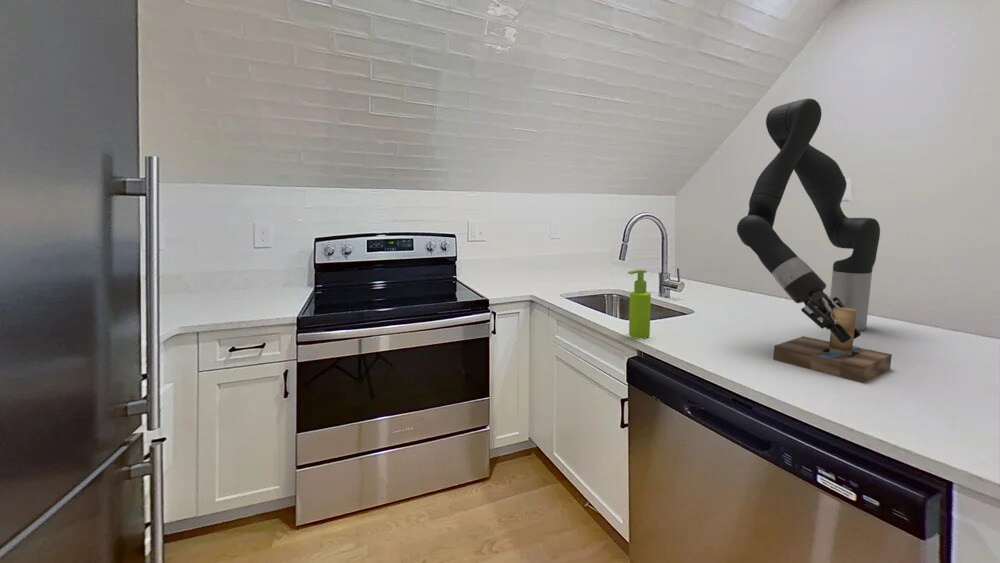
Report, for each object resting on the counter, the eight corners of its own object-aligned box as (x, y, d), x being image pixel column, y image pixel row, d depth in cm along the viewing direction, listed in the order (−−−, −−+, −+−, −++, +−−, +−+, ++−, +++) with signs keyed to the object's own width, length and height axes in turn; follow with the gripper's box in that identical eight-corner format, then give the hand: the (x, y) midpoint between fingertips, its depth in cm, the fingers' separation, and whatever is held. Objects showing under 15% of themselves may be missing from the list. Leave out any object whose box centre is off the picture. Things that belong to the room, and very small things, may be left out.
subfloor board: (802, 349, 113) (803, 335, 112) (890, 369, 97) (891, 353, 97) (773, 359, 106) (774, 344, 105) (862, 382, 90) (864, 365, 90)
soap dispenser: (622, 335, 130) (623, 269, 127) (641, 332, 132) (643, 268, 129) (633, 340, 125) (634, 272, 122) (653, 337, 127) (655, 270, 124)
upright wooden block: (833, 355, 103) (838, 306, 101) (854, 360, 99) (859, 309, 97) (824, 359, 100) (829, 309, 99) (846, 364, 97) (851, 312, 95)
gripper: (795, 272, 99) (853, 335, 91) (825, 267, 106) (881, 325, 98) (770, 292, 105) (822, 353, 96) (799, 286, 112) (851, 342, 103)
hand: (851, 338), depth 97 cm, fingers closed on upright wooden block, 4 cm apart
